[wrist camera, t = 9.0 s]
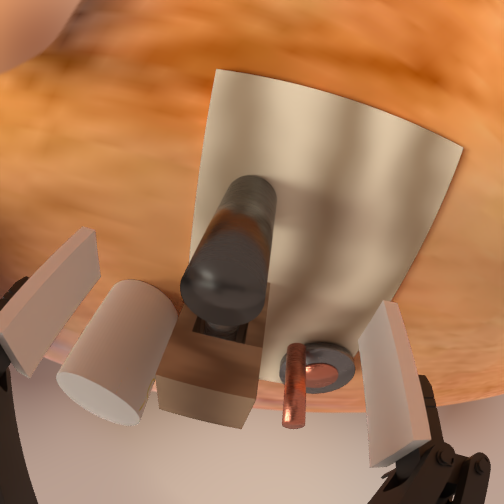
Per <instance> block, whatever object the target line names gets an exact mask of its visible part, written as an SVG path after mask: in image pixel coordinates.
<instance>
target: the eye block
mask: <svg viewBox="0 0 504 504" xmlns="http://www.w3.org/2000/svg"><path fill="white" fill-rule="evenodd" d="M462 151H463V147H461V146H460V145H458V144H456V143H454V142H452V141H450V140H448V139H446V138H444V137H442V136H440V135H438V134H436V133H434V132H431V131H429V130H427V129H425V128H423V127H420V126H418V125H416V124H414V123H411V122H409V121H407V120H404V119H402V118H399V117H397V116H394V115H392V114H389V113H387V112H384V111H382V110H379V109H376V108H374V107H371V106H368V105H365V104H362V103H359V102H356V101H353V100H350V99H347V98H344V97H341V96H338V95H334V94H331V93H328V92H324V91H321V90H317V89H314V88H310V87H306V86H302V85H298V84H294V83H290V82H286V81H281V80H277V79H272V78H267V77H262V76H257V75H252V74H246V73H240V72H234V71H227V70H220V69H216V74H215V79H214V84H213V89H212V95H211V100H210V106H209V112H208V118H207V124H206V130H205V136H204V143H203V149H202V156H201V163H200V170H199V177H198V185H197V193H196V201H195V209H194V218H193V226H192V236H191V246H190V256H189V263H190V261H191V259H192V257H193V255H194V253H195V251H196V249H197V247H198V245H199V243H200V241H201V239H202V237H203V235H204V233H205V231H206V229H207V227H208V225H209V223H210V221H211V219H212V217H213V215H214V214H215V212H216V210H217V208H218V206H219V204H220V202H221V200H222V198H223V197H224V195H225V193H226V191H227V189H228V187H229V186H230V184H231V183H232V182H233V181H234V180H236V179H237V178H239V177H242V176H246V175H254V176H258V177H261V178H263V179H265V180H266V181H268V182H269V183H270V184H271V185H272V187H273V188H274V190H275V192H276V196H277V205H276V214H275V222H274V231H273V239H272V248H271V256H270V264H269V272H268V280H267V288H266V296H265V303H264V307H263V309H262V311H261V313H260V314H259V315H258V316H257V317H256V318H255V319H253V320H252V321H250V322H248V323H245V324H242V325H239V329H238V333H237V336H236V340H235V342H233V341H229V340H224V339H220V338H216V337H212V336H208V335H204V329H205V320H203V319H201V318H200V317H198V316H197V315H195V314H194V313H193V312H192V311H191V310H190V309H189V308H188V307H187V305H186V304H185V303H184V305H183V307H182V310H181V312H180V315H179V317H178V319H177V322H176V324H175V327H174V329H173V331H172V334H171V336H170V339H169V341H168V344H167V346H166V349H165V351H164V354H163V356H162V359H161V361H160V364H159V366H158V369H157V371H156V374H155V376H156V386H157V393H158V402H159V409H162V410H165V411H168V412H171V413H175V414H178V415H182V416H186V417H189V418H193V419H198V420H201V421H206V422H210V423H214V424H218V425H223V426H228V427H233V428H239V429H242V427H243V425H244V423H245V421H246V419H247V417H248V415H249V413H250V411H251V409H252V407H253V405H254V403H255V400H256V396H257V388H258V381H259V379H261V380H266V381H271V382H277V383H282V381H281V379H280V377H279V370H280V362H281V359H282V358H283V356H284V355H285V354H286V353H287V347H288V346H289V345H290V344H292V343H301V344H303V345H304V344H308V343H315V342H327V343H333V344H337V345H340V346H342V347H344V348H346V349H347V350H349V351H350V352H351V354H352V355H353V358H354V357H355V355H356V354H357V352H358V351H359V344H358V339H359V338H360V336H361V335H362V333H363V332H364V330H365V329H366V327H367V325H368V324H369V322H370V321H371V319H372V317H373V316H374V314H375V313H376V311H377V309H378V308H379V306H380V304H381V303H382V301H383V300H386V301H390V302H391V300H392V298H393V297H394V295H395V293H396V292H397V290H398V288H399V286H400V285H401V283H402V281H403V279H404V278H405V276H406V274H407V272H408V270H409V269H410V267H411V265H412V263H413V261H414V259H415V257H416V256H417V254H418V252H419V250H420V248H421V246H422V244H423V242H424V240H425V238H426V236H427V234H428V232H429V230H430V228H431V226H432V223H433V221H434V219H435V217H436V215H437V213H438V210H439V208H440V206H441V204H442V201H443V199H444V197H445V194H446V192H447V190H448V187H449V185H450V182H451V180H452V177H453V175H454V172H455V170H456V167H457V164H458V162H459V159H460V156H461V154H462Z"/></svg>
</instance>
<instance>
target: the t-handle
mask: <svg viewBox="0 0 504 504" xmlns="http://www.w3.org/2000/svg"><path fill="white" fill-rule="evenodd" d="M276 205H277V196H276V192H275V190H274V188H273V187H272V185H271V184H270V183H269V182H268V181H266V180H265V179H263V178H261V177H258V176H254V175H246V176H242V177H239V178H237V179H236V180H234V181H233V182H232V183H231V184H230V186H229V187H228V189H227V191H226V193H225V195H224V197H223V198H222V200H221V202H220V204H219V206H218V208H217V210H216V212H215V214H214V215H213V217H212V219H211V221H210V223H209V225H208V227H207V229H206V231H205V233H204V235H203V237H202V239H201V241H200V243H199V245H198V247H197V249H196V251H195V253H194V255H193V257H192V259H191V261H190V263H189V265H188V267H187V269H186V271H185V273H184V275H183V277H182V280H181V284H180V291H181V296H182V298H183V300H184V302H185V304H186V305H187V307H188V308H189V309H190V310H191V311H192V312H193V313H194V314H195V315H197V316H198V317H200V318H201V319H203V320H205V329H204V335H208V336H212V337H216V338H220V339H224V340H229V341H233V342H235V340H236V336H237V333H238V329H239V325H242V324H245V323H248V322H250V321H252V320H253V319H255V318H256V317H257V316H258V315H259V314H260V313H261V311H262V309H263V307H264V303H265V296H266V288H267V280H268V272H269V264H270V256H271V248H272V239H273V231H274V222H275V214H276Z"/></svg>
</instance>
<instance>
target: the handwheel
mask: <svg viewBox="0 0 504 504" xmlns="http://www.w3.org/2000/svg"><path fill="white" fill-rule="evenodd" d="M354 374H355V364H354V358H353V355H352V354H351V352H350V351H349V350H347V349H346V348H344V347H342V346H340V345H337V344H333V343H327V342H315V343H308V344H304V345H303V344H301V343H292V344H290V345H289V346H288V347H287V353H286V354H285V355H284V356H283V358H282V359H281V362H280V370H279V377H280V379H281V381H282V383H283V384H284V385H285V390H284V404H283V418H282V425H283V427H285V428H289V429H298V428H302V427H304V426H305V410H306V393H311V394H316V393H325V392H330V391H333V390H336V389H339V388H341V387H343V386H344V385H346V384H347V383H348V382H349V381H350V380H351V379H352V378H353V376H354Z"/></svg>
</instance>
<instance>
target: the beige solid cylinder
mask: <svg viewBox="0 0 504 504" xmlns="http://www.w3.org/2000/svg"><path fill="white" fill-rule="evenodd" d="M177 319H178V314H177V311H176V308H175V306H174V305H173V303H172V302H171V301H170V299H169V298H168V297H167V296H166V295H165V294H164V293H163V292H161V291H160V290H159V289H157V288H155V287H154V286H152V285H150V284H148V283H145V282H142V281H139V280H131V279H128V280H122V281H119V282H117V283H116V284H115V285H114V286H113V287H112V289H111V290H110V291H109V293H108V294H107V296H106V297H105V299H104V300H103V302H102V303H101V305H100V306H99V308H98V309H97V311H96V312H95V314H94V315H93V317H92V318H91V320H90V321H89V323H88V324H87V326H86V327H85V329H84V331H83V332H82V334H81V335H80V337H79V339H78V340H77V342H76V343H75V345H74V347H73V348H72V350H71V352H70V353H69V355H68V356H67V358H66V360H65V362H64V363H63V365H62V367H61V368H60V370H59V372H58V374H57V375H56V380H57V382H58V384H59V386H60V387H61V389H62V390H63V391H64V392H65V393H66V394H67V395H68V396H69V397H70V398H71V399H72V400H73V401H75V402H76V403H77V404H79V405H80V406H81V407H83V408H84V409H86V410H87V411H89V412H91V413H93V414H95V415H96V416H98V417H101V418H103V419H105V420H108V421H111V422H114V423H117V424H121V425H127V426H132V425H137V424H139V422H140V420H141V417H142V414H143V411H144V408H145V406H146V403H147V400H148V398H149V395H150V393H151V390H152V387H153V385H154V382H155V379H156V376H155V374H156V371H157V369H158V366H159V364H160V361H161V359H162V356H163V354H164V351H165V349H166V346H167V344H168V341H169V339H170V336H171V334H172V331H173V329H174V327H175V324H176V322H177Z"/></svg>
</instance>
